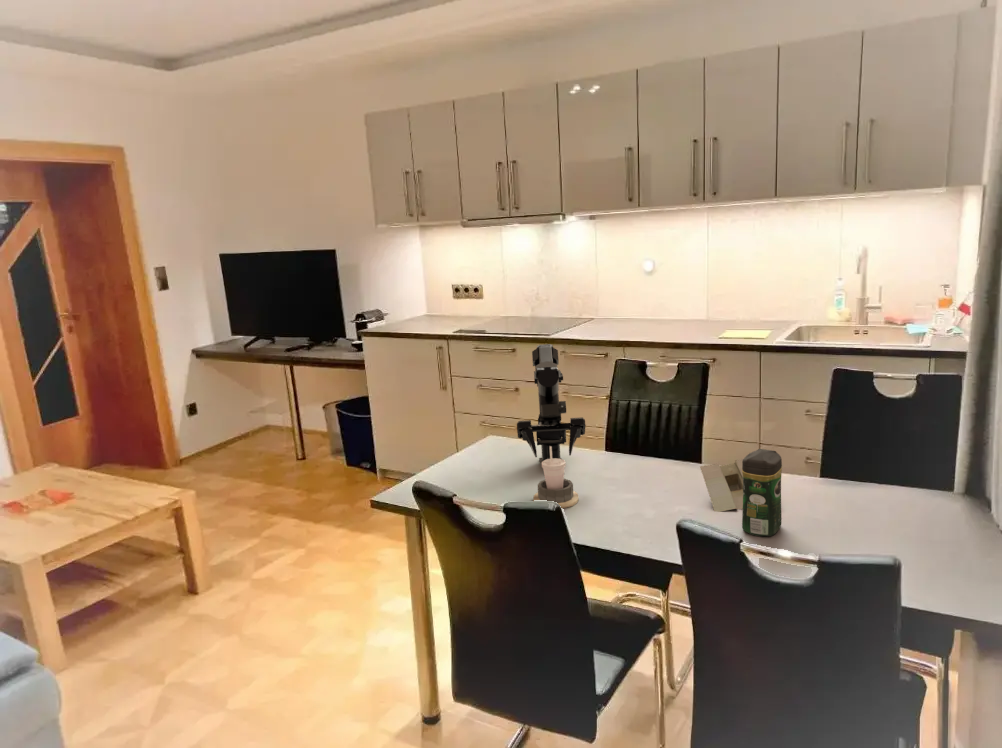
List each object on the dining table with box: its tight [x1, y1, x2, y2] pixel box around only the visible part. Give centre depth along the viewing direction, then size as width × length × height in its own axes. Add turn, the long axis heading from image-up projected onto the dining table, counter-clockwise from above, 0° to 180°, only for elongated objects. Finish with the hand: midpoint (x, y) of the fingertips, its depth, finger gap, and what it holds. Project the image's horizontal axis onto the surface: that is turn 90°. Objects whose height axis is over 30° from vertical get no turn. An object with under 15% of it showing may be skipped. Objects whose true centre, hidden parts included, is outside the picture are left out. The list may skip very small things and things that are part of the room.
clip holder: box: [532, 478, 580, 509], centre depth 189 cm, size 12×12×4 cm
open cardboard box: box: [699, 458, 744, 513], centre depth 183 cm, size 16×9×15 cm
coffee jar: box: [741, 448, 783, 537], centre depth 163 cm, size 10×8×19 cm
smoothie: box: [541, 446, 567, 490], centre depth 188 cm, size 6×6×14 cm
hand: (553, 455), depth 192 cm, fingers open, 9 cm apart
